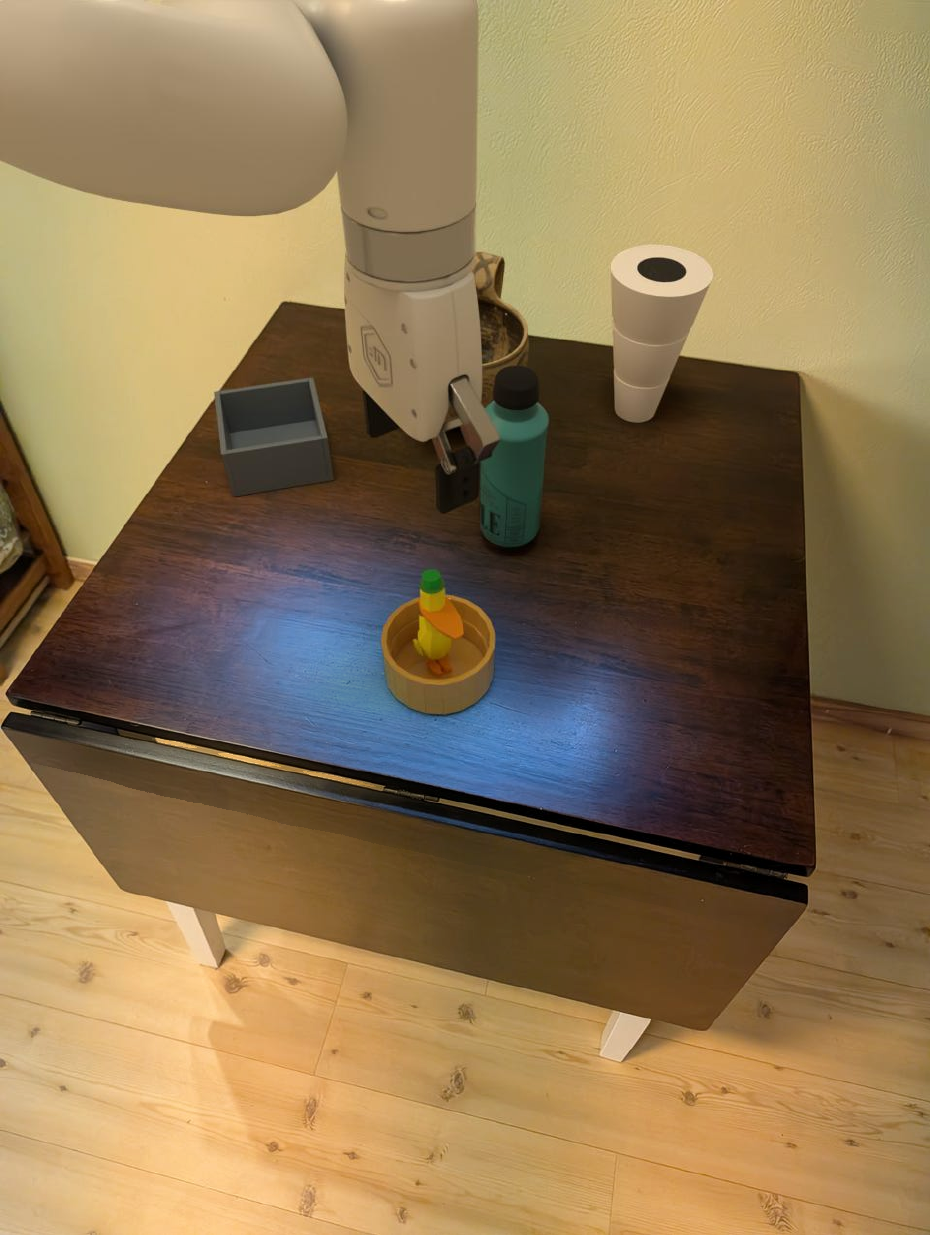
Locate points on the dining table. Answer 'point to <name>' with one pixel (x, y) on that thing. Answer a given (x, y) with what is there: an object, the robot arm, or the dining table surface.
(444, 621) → the toy figure
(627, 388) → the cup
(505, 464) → the beverage bottle
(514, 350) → the ceramic bowl
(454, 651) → the mustard bowl
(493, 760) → the dining table surface
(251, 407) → the grey bin
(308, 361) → the dining table surface
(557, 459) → the dining table surface
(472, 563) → the dining table surface
